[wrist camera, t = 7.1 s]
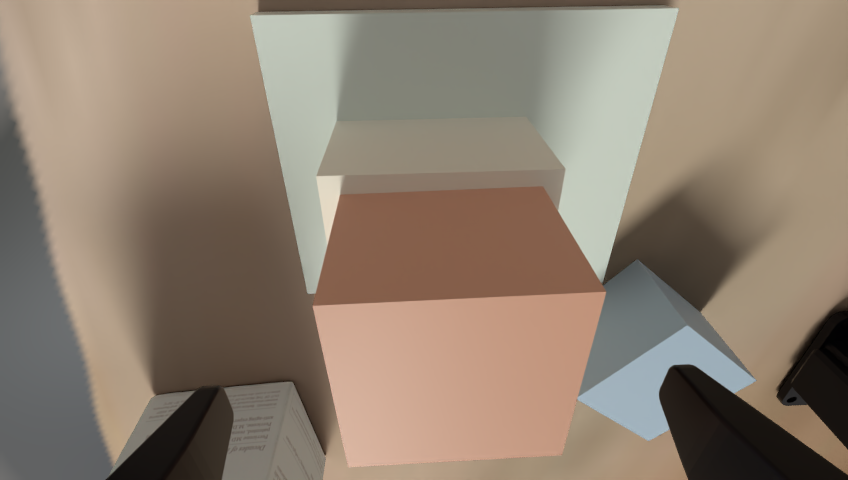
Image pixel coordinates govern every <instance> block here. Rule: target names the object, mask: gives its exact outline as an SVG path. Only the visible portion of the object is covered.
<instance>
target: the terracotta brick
mask: <svg viewBox="0 0 848 480" xmlns="http://www.w3.org/2000/svg"><path fill="white" fill-rule="evenodd" d="M605 295H606V290H605V289H604V287H603V285H602V284H601V282H600V280H599V279H598V277H597V275H596V274H595V272H594V270H593V269H592V267H591V265H590V264H589V262H588V260H587V259H586V257H585V255H584V254H583V252H582V250H581V249H580V247H579V245H578V244H577V242H576V240H575V239H574V237H573V235H572V234H571V232H570V230H569V229H568V227H567V225H566V224H565V222H564V220H563V219H562V217H561V215H560V214H559V212H558V210H557V209H556V207H555V205H554V204H553V202H552V200H551V199H550V197H549V195H548V194H547V192H546V190H545V189H544V187H543V186H537V187H513V188H489V189H465V190H441V191H417V192H393V193H369V194H345V195H340V196H339V201H338V205H337V209H336V213H335V217H334V221H333V225H332V229H331V233H330V237H329V241H328V245H327V249H326V253H325V257H324V261H323V265H322V269H321V274H320V278H319V282H318V286H317V290H316V294H315V298H314V302H313V310H314V315H315V319H316V324H317V328H318V333H319V337H320V342H321V346H322V351H323V356H324V360H325V365H326V369H327V374H328V378H329V383H330V387H331V392H332V396H333V401H334V405H335V410H336V414H337V419H338V423H339V428H340V433H341V437H342V442H343V446H344V451H345V455H346V460H347V464H348V467H362V466H379V465H397V464H414V463H432V462H450V461H467V460H485V459H502V458H520V457H537V456H555V455H562V453H563V450H564V446H565V442H566V439H567V435H568V431H569V428H570V424H571V420H572V417H573V413H574V409H575V406H576V402H577V398H578V395H579V391H580V387H581V384H582V380H583V376H584V372H585V369H586V365H587V361H588V358H589V354H590V350H591V347H592V343H593V339H594V336H595V332H596V328H597V325H598V321H599V317H600V314H601V310H602V306H603V303H604V299H605Z"/></svg>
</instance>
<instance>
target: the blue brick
mask: <svg viewBox="0 0 848 480" xmlns="http://www.w3.org/2000/svg"><path fill="white" fill-rule="evenodd" d="M603 287H604V289H605V290H606V295H605V299H604V303H603V306H602V310H601V314H600V317H599V321H598V325H597V328H596V332H595V336H594V339H593V343H592V347H591V350H590V354H589V358H588V361H587V365H586V369H585V372H584V376H583V380H582V384H581V387H580V391H579V395H578V398H577V400H579V401H581V402H582V403H584V404H586V405H587V406H589V407H591V408H593V409H594V410H596V411H598V412H600V413H601V414H603V415H605V416H606V417H608V418H610V419H612V420H613V421H615V422H617V423H618V424H620V425H622V426H624V427H625V428H627V429H629V430H631V431H632V432H634V433H636V434H637V435H639V436H641V437H643V438H644V439H646V440H648V441H650V440H651V439H653V438H655V437H657V436H659V435H660V434H662V433H664V432H666V431H668V430H669V426H668V423H667V420H666V417H665V415H664V412H663V409H662V406H661V404H660V400H659V390H660V387H661V385H662V383H663V380H664V378H665V376H666V374H667V371H668V369H669V368H670V367H671V366H672V365H682V364H691V365H694V366H696V367H698V368H699V369H700V370H702V371H703V372H705V373H706V374H707V375H709V376H710V377H712V378H713V379H714V380H716V381H717V382H719V383H720V384H721V385H723V386H724V387H726V388H727V389H728V390H730V391H731V392H733V393H736V392H737V391H739V390H741V389H743V388H745V387H746V386H748V385H750V384H752V383H753V382H755V381H756V379H755V378H754V377H753V376H752V375H751V373H750V372H749V371H748V370H747V368H746V367H745V366H744V365H743V364H742V362H741V361H740V360H739V359H738V358H737V356H736V355H735V354H734V353H733V351H732V350H731V349H730V348H729V347H728V345H727V344H726V343H725V342H724V341H723V339H722V338H721V337H720V336H719V334H718V333H717V332H716V331H715V330H714V328H713V327H712V326H711V325H710V324H709V322H708V321H707V320H706V319H705V317H704V316H703V315H702V314H701V313H700V312H699V311H698V310H697V309H696V308H695V307H693V306H692V305H691V304H690V303H689V302H687V301H686V300H685V299H684V298H683V297H682V296H680V295H679V294H678V293H677V292H676V291H674V290H673V289H672V288H671V287H670V286H669V285H667V284H666V283H665V282H664V281H663V280H661V279H660V278H659V277H658V276H657V275H655V274H654V273H653V272H652V271H651V270H650V269H648V268H647V267H646V266H645V265H644V264H642V263H641V262H640V261H639V260H638V259H637V260H635V261H634V262H633V263H631V264H630V265H629V266H628V267H626V268H625V269H624V270H622V271H621V272H620V273H618V274H617V275H616V276H615V277H613V278H612V279H611V280H609V281H608V282H607V283H605V284H604V285H603Z"/></svg>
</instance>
